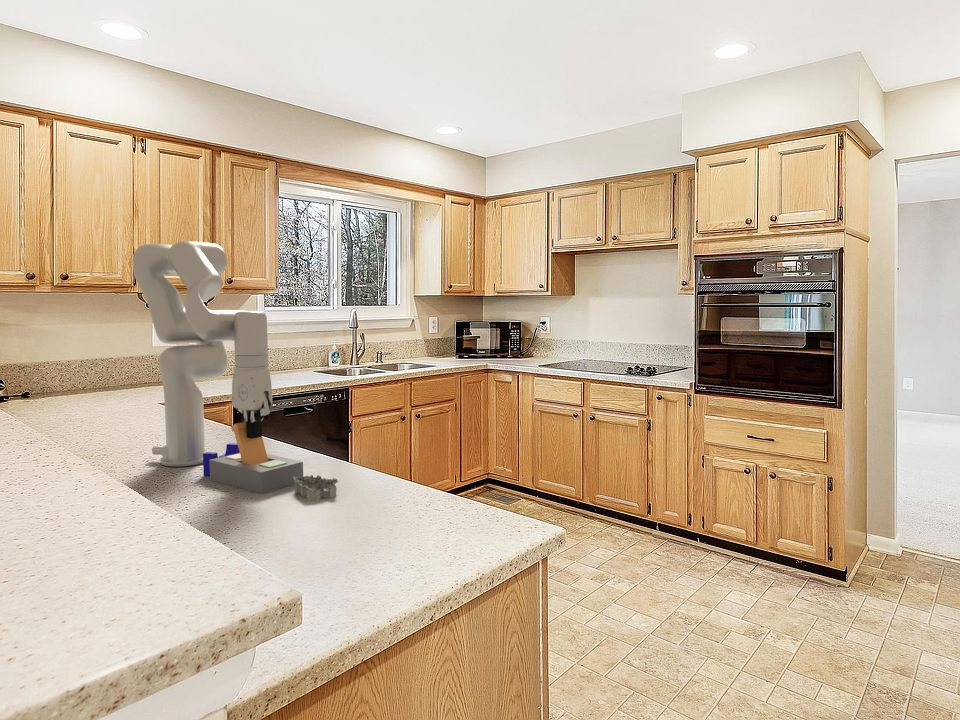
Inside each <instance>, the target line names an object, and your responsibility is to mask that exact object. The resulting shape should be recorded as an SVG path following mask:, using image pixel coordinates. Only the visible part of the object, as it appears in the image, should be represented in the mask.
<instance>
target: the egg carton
mask: <svg viewBox="0 0 960 720" xmlns="http://www.w3.org/2000/svg"><path fill="white" fill-rule="evenodd" d="M293 478H294V480H295V484H294V492H295V493H299V494H300V496H301V497H306V500H308V501H312V500H313V501H320V500H321V498H330V497H331V498H334V497H335V496H336V495H337V485H336V484H337V483H339V482H338V479H337V478H335V477H333V478H325V477H322V475H321V476H320V475H319V474H318V475H317V476H316V477H315V476H314V475H313V474H310V475H309V476H308V475H303V476H301V477H294V476H293ZM318 488H320V489H318Z"/></svg>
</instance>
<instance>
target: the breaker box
mask: <svg viewBox="0 0 960 720" xmlns="http://www.w3.org/2000/svg"><path fill="white" fill-rule="evenodd" d="M267 457H268V460H269V461H268V462H264V463H260V464H255V465H248V464H244V463H243V462H242V459H241V455H240V453H238V454H233V455H229V456H224V457H219V456H218V458H215V459H210V460H209V464H210V477H209V480H210V481H213V482H218V483H221V484H224V485H227V486H231V487H235V488H239V489H243V490H246V491H250V492H253V493H256V494H260V495H263V494H265V493H266V494H267V493H270V492H272V491H276V490H280V489H283V488H287V487H291V486H293V485H294V486H295V480H294V478H293V476H294V477H301V476H304V461H302V460H297V459H292V458H287V457H284V456H278V455H273V454H269V453H267Z"/></svg>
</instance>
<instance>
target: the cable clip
mask: <svg viewBox="0 0 960 720" xmlns="http://www.w3.org/2000/svg"><path fill="white" fill-rule="evenodd" d="M238 453H240V452H239V448H238V444H237V442H236V443H235V442H232V443H231V442H229V443H226V447H225V453H223V454H221V455H219V456H218V452H211V451H208V452H207V451H205V453H203V463H202V464H203V465H202V466H203V478H204V477H205V478H206V477H208V478H210V464H209V460H210V459H215V458H219V457H224V456H229V455H233V454H238Z"/></svg>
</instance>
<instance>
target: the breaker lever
mask: <svg viewBox="0 0 960 720" xmlns="http://www.w3.org/2000/svg"><path fill="white" fill-rule="evenodd" d="M230 429H231V431H232V432H234V435H235V441H236V443H237V444H238V448H239V452H240V455H241V459H242V462H243V463H244V464H248V465H255V464H260V463H264V462H268V461H269V460H268V457H267V454H268V453H267V451H266V447H265V442H264V439H263V435H262V436H261V437H258V438H253V439H251V438H247V432H246V421H243V422H236V423H234V424H232V425H231V426H230Z"/></svg>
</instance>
